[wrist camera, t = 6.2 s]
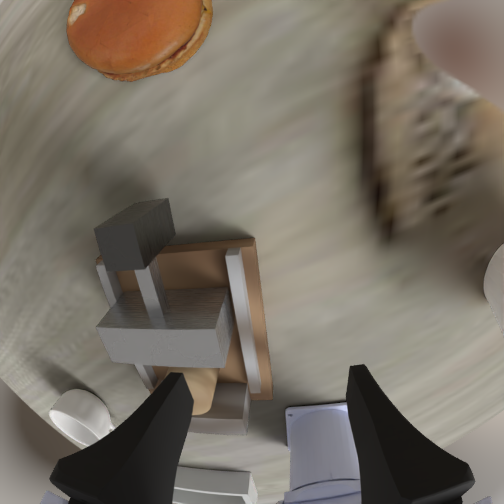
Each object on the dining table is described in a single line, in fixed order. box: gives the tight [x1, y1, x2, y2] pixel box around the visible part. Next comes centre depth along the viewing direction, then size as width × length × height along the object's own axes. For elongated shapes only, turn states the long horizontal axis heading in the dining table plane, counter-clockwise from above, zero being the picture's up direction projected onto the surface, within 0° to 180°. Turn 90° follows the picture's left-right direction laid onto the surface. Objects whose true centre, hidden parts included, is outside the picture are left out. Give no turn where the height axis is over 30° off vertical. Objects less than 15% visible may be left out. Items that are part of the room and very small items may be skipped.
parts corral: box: [172, 466, 258, 504], centre depth 36 cm, size 10×16×4 cm, turn 97°
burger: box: [67, 0, 213, 82], centre depth 13 cm, size 10×9×5 cm
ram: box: [94, 198, 234, 368], centre depth 17 cm, size 9×8×5 cm
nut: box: [165, 367, 220, 415], centre depth 22 cm, size 4×4×4 cm
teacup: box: [49, 389, 116, 446], centre depth 29 cm, size 10×8×5 cm
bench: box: [96, 238, 273, 435], centre depth 21 cm, size 15×12×6 cm
